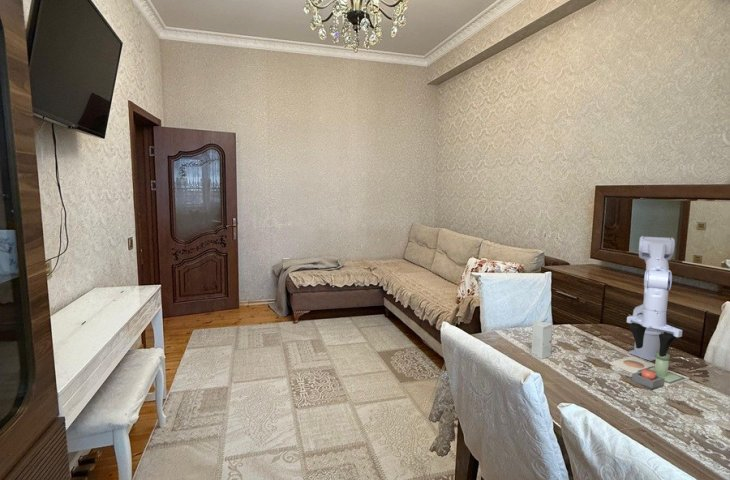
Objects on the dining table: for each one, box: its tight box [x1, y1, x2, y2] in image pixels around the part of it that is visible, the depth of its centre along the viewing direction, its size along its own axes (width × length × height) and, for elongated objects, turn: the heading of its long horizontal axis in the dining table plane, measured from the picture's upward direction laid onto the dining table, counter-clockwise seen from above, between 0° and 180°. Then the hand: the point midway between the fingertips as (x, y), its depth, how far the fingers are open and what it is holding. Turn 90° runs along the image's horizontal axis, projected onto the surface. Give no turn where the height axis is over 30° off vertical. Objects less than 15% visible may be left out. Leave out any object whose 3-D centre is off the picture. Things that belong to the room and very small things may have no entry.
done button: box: [641, 369, 656, 380], centre depth 120 cm, size 4×4×2 cm
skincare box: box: [531, 320, 553, 360], centre depth 140 cm, size 6×4×12 cm
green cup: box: [654, 352, 671, 377], centre depth 125 cm, size 4×4×7 cm
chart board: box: [609, 356, 690, 388], centre depth 129 cm, size 12×18×1 cm, turn 25°
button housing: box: [631, 371, 665, 391], centre depth 120 cm, size 6×6×2 cm
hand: (650, 351), depth 119 cm, fingers open, 6 cm apart
